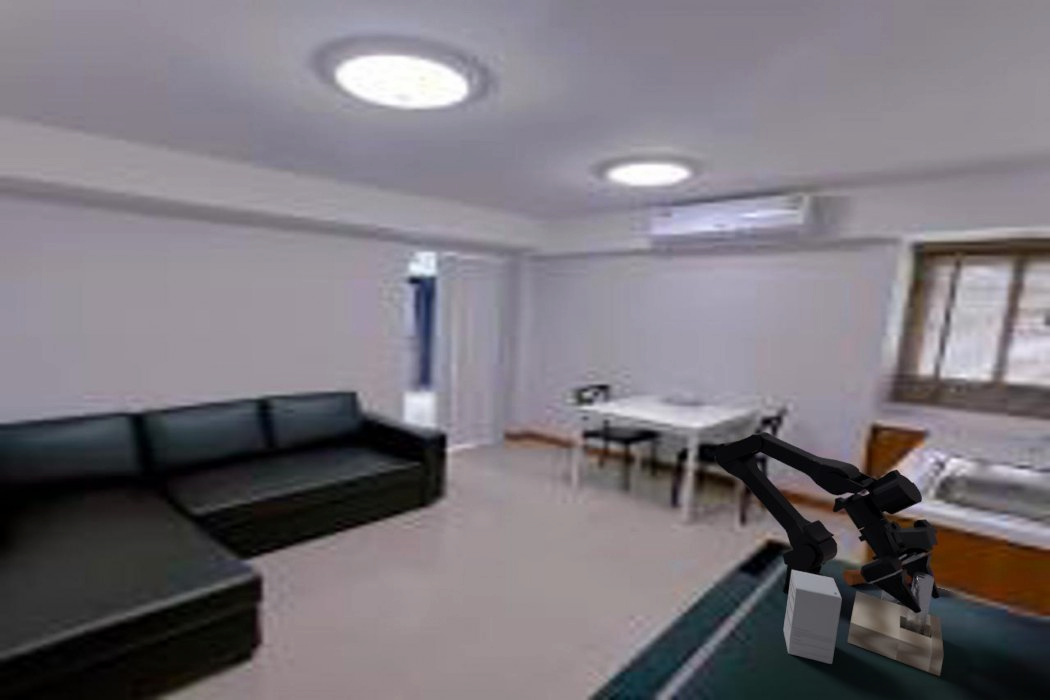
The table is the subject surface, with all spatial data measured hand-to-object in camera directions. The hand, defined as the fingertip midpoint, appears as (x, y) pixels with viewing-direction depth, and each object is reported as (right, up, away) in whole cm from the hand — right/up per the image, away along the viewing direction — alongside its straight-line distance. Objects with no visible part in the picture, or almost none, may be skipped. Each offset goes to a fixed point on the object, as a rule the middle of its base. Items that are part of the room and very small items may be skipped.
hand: (928, 605), depth 103 cm
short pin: (+4, -7, +18) cm, 20 cm away
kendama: (+9, -7, +25) cm, 28 cm away
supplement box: (-23, -8, 0) cm, 24 cm away
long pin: (-2, -9, +2) cm, 9 cm away
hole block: (-4, -8, +4) cm, 10 cm away
